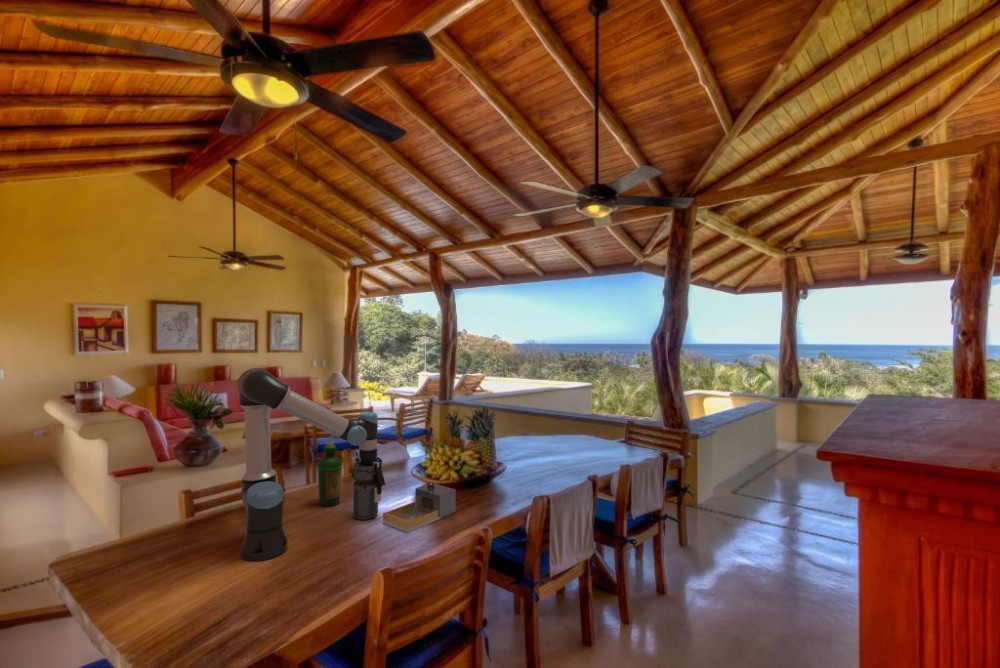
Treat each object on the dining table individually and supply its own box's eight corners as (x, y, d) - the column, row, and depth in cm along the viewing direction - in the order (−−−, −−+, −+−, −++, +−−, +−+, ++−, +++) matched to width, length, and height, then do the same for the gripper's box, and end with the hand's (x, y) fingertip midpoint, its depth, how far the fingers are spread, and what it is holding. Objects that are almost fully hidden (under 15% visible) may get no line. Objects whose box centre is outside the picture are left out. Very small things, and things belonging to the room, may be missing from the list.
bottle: (336, 508, 215) (337, 445, 214) (313, 507, 215) (314, 445, 215) (345, 500, 225) (345, 440, 225) (322, 499, 225) (323, 440, 225)
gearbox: (407, 532, 190) (407, 502, 190) (382, 523, 199) (383, 494, 199) (455, 512, 212) (455, 485, 212) (431, 504, 221) (431, 478, 221)
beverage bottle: (387, 514, 208) (388, 457, 208) (360, 523, 198) (361, 463, 198) (373, 508, 215) (374, 453, 215) (347, 517, 205) (347, 458, 205)
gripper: (394, 451, 202) (393, 502, 202) (357, 442, 217) (357, 489, 217) (379, 455, 196) (379, 507, 196) (343, 445, 211) (342, 494, 211)
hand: (367, 498), depth 206 cm, fingers open, 13 cm apart
